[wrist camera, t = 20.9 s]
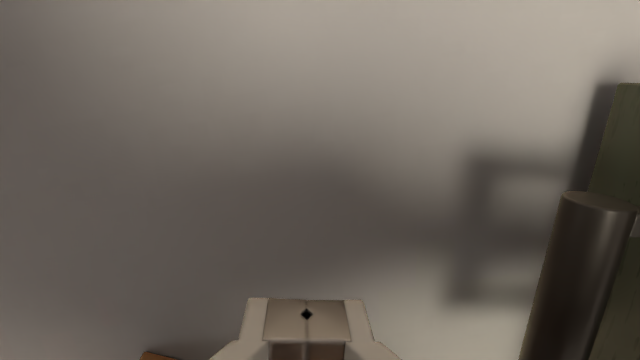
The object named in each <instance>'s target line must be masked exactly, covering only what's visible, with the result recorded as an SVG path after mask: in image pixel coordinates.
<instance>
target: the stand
mask: <svg viewBox="0 0 640 360" xmlns="http://www.w3.org/2000/svg"><path fill="white" fill-rule="evenodd" d="M140 360H177V359H173V358H169V357H165V356H161V355H157V354H153V353H149V352H144V353H143V354H142V356H141V358H140Z"/></svg>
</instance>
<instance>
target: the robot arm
mask: <svg viewBox="0 0 640 360" xmlns="http://www.w3.org/2000/svg"><path fill="white" fill-rule="evenodd" d="M209 360H402V359H401V358H399V357H398V356H397V355H396V354H394V353H393V352H392V351H391V350H390V349H388V348H387V347H386V346H385V345H383V344H382V343H381V342H375V340H374V337H373V334H372V330H371V327H370V323H369V320H368V317H367V313H366V310H365V306H364V303H363V301H362V300H303V299H278V298H269V299H268V298H249V299H248V301H247V305H246V309H245V313H244V317H243V322H242V326H241V330H240V334H239V338H238V341H231V342H230V343H228V344H227V345H226V346H225V347H224V348H222V349H221V350H220V351H219V352H218V353H216V354H215V355H214V356H213V357H211V358H210V359H209Z"/></svg>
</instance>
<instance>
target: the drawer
mask: <svg viewBox="0 0 640 360" xmlns="http://www.w3.org/2000/svg"><path fill="white" fill-rule="evenodd" d="M518 360H640V83H620V84H618V86H617V89H616V93H615V96H614V100H613V103H612V107H611V110H610V114H609V117H608V121H607V124H606V128H605V132H604V135H603V139H602V142H601V146H600V149H599V153H598V156H597V160H596V163H595V167H594V170H593V174H592V177H591V181H590V184H589V188H588V192H584V191H567V192H564V193H563V194H562V195H561V199H560V203H559V206H558V210H557V214H556V218H555V222H554V225H553V229H552V233H551V237H550V241H549V245H548V248H547V252H546V256H545V260H544V264H543V267H542V271H541V275H540V279H539V283H538V287H537V290H536V294H535V298H534V302H533V306H532V310H531V313H530V317H529V321H528V325H527V329H526V332H525V336H524V340H523V344H522V348H521V352H520V355H519V359H518Z"/></svg>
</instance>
